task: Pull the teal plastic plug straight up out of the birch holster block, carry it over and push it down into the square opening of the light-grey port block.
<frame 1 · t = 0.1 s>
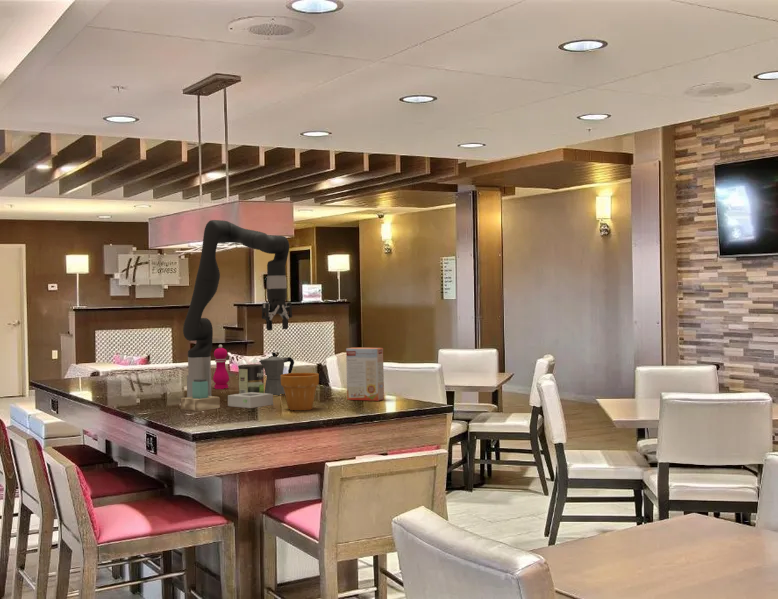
hand: (277, 329, 350), 29 cm above the table, tool pointing down, fingers open, 8 cm apart
flower pot: (300, 409, 339), on the table
coffee can: (251, 400, 370), on the table
cracker box: (365, 400, 364), on the table
coffeepot: (277, 395, 386), on the table
plug: (200, 408, 338), point 1 cm above the table, touching holster
pepper mill: (221, 388, 413), on the table
holster: (200, 411, 338), on the table
port: (250, 407, 345), on the table
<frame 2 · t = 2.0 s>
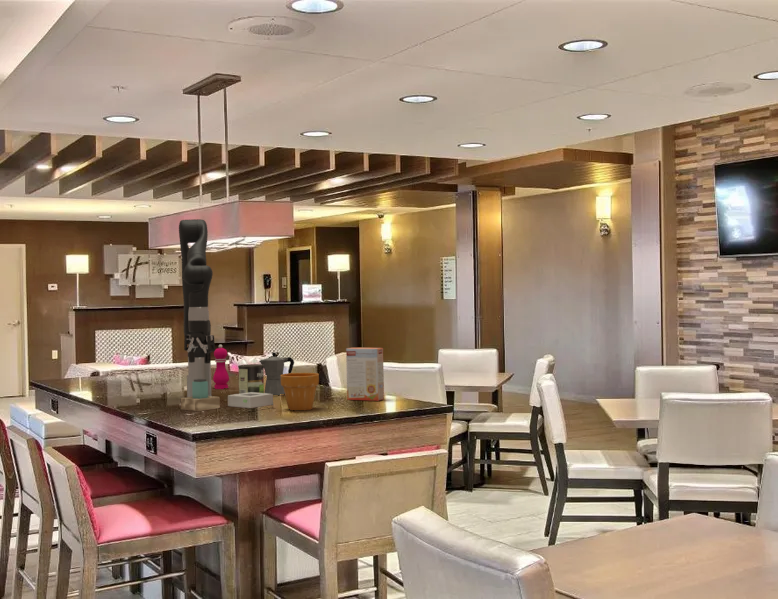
hand: (199, 362, 338), 18 cm above the table, tool pointing down, fingers open, 8 cm apart
nothing on the table moved.
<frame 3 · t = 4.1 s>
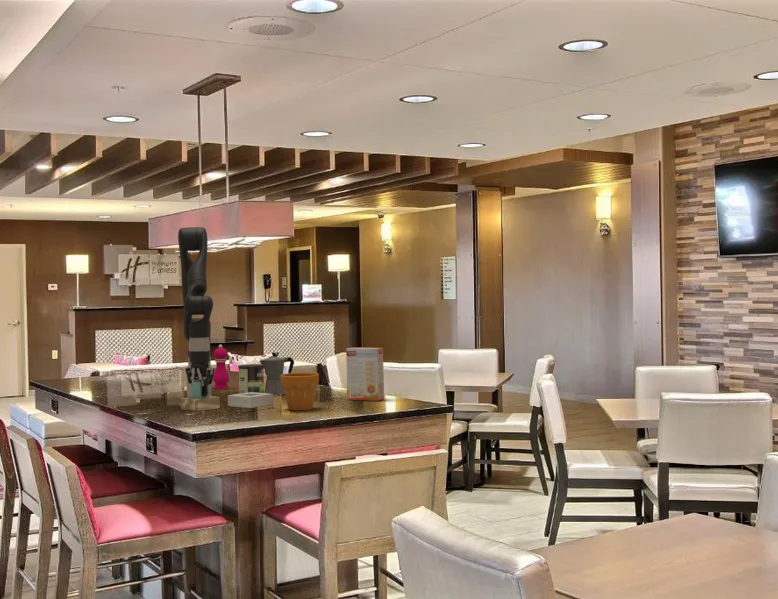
hand: (200, 395, 338), 6 cm above the table, tool pointing down, fingers closed on plug, 4 cm apart
plug: (200, 408, 338), point 1 cm above the table, touching gripper, holster
everything else where it was.
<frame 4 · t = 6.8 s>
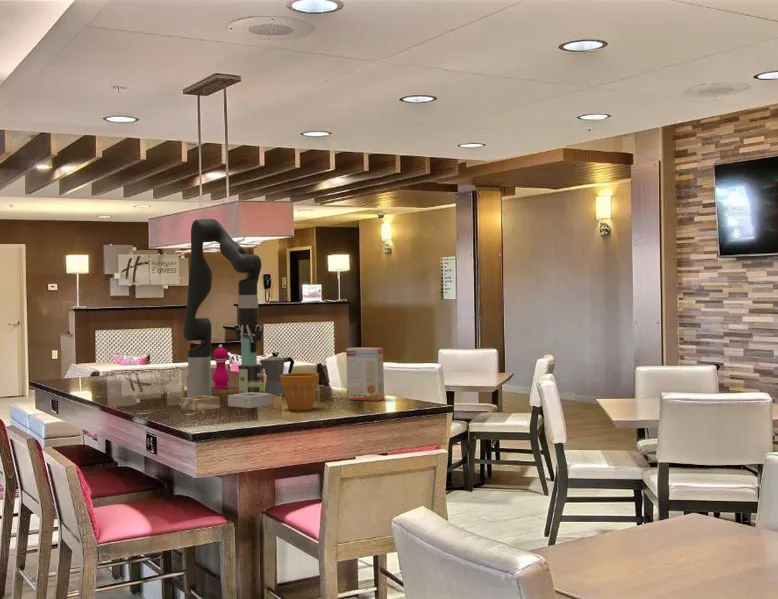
hand: (249, 352, 345), 21 cm above the table, tool pointing down, fingers closed on plug, 4 cm apart
plug: (249, 364, 345), point 16 cm above the table, touching gripper
everything else where it was.
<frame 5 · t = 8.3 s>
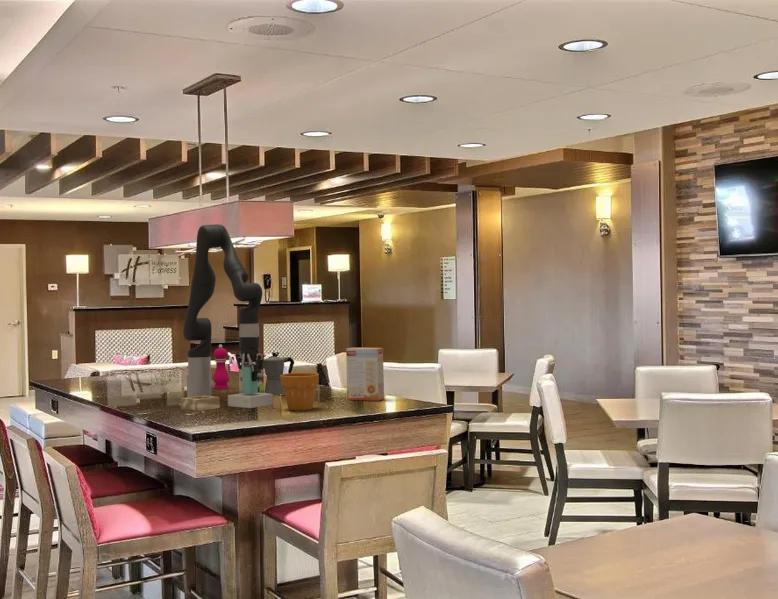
hand: (250, 380, 345), 10 cm above the table, tool pointing down, fingers closed on plug, 4 cm apart
plug: (250, 393, 345), point 6 cm above the table, touching gripper
everything else where it was.
when the fingers open (7 cm above the table, at t = 9.6 s): plug drops 1 cm, resting on port.
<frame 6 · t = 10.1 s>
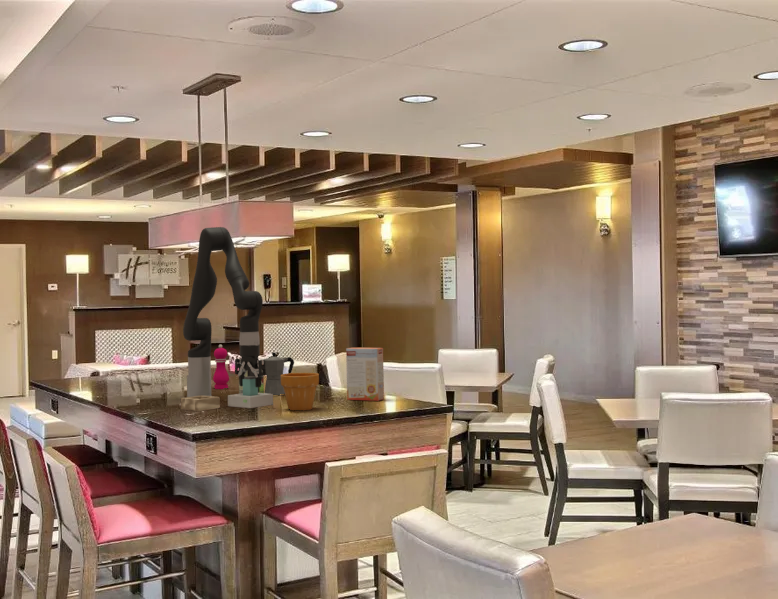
hand: (250, 386, 345), 8 cm above the table, tool pointing down, fingers open, 8 cm apart
plug: (250, 405, 345), point 1 cm above the table, touching port
everything else where it was.
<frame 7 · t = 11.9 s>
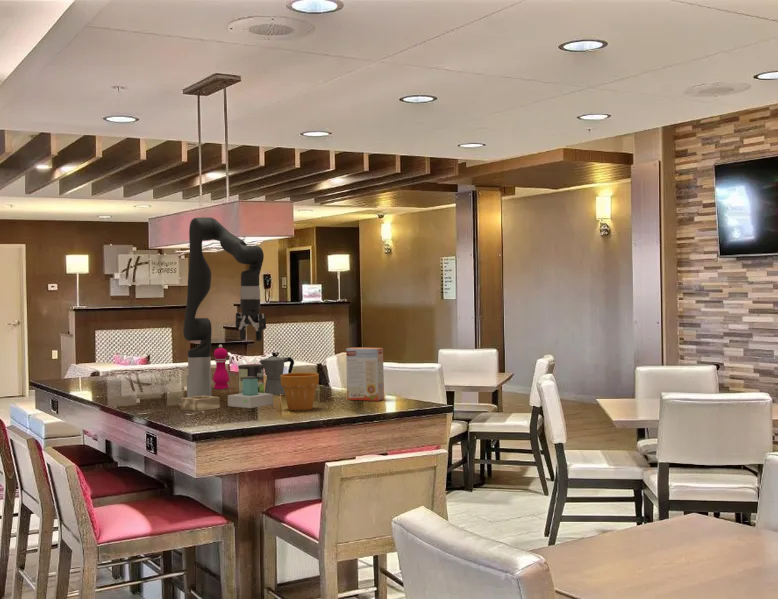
hand: (250, 340, 348), 25 cm above the table, tool pointing down, fingers open, 8 cm apart
nothing on the table moved.
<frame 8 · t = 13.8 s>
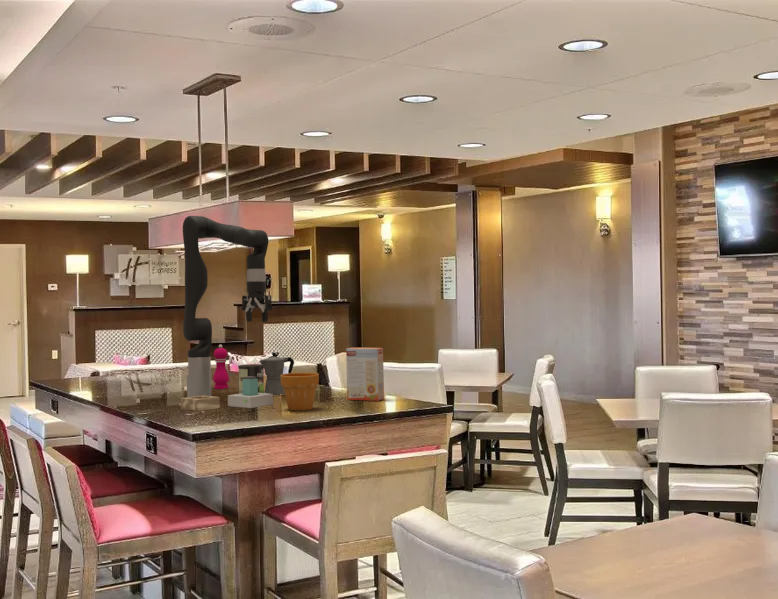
hand: (257, 321, 359), 32 cm above the table, tool pointing down, fingers open, 8 cm apart
nothing on the table moved.
at the end: plug 0.0 cm off-centre on the port, point 1.0 cm above the port's base; plug tilted 0°; the gripper is holding nothing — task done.
